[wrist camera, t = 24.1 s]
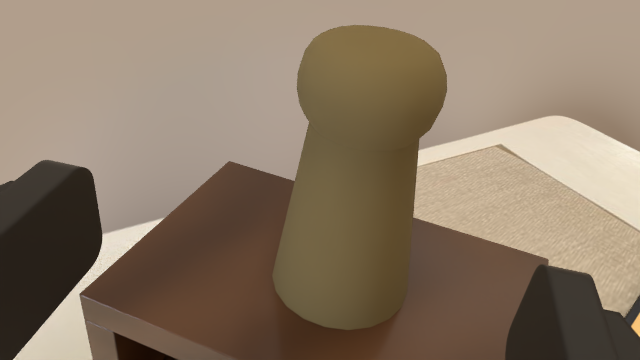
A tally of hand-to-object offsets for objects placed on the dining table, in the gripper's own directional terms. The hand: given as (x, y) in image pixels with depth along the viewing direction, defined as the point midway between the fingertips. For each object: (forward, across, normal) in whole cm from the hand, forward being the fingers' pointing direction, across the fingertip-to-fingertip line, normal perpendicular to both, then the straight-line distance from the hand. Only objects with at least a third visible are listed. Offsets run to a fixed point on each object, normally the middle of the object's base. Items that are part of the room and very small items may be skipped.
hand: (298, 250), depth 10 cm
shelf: (+10, 0, +21) cm, 23 cm away
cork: (+10, 0, +10) cm, 15 cm away
